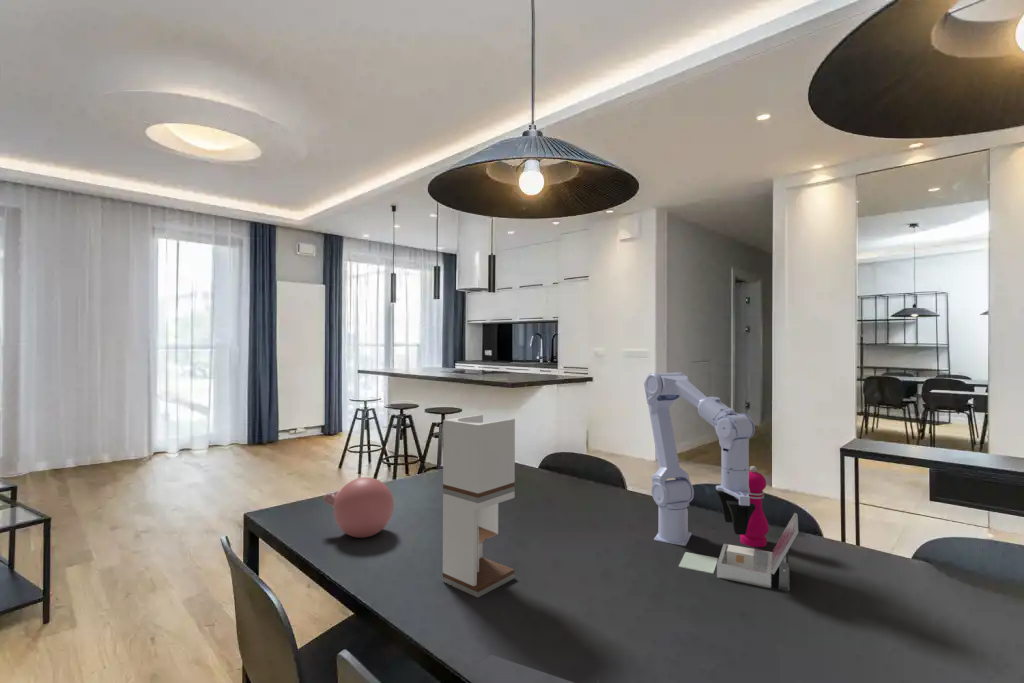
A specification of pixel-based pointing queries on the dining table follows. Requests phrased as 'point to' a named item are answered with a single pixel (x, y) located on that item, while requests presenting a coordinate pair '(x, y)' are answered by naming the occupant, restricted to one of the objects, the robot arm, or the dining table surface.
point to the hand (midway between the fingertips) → (734, 527)
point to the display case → (475, 499)
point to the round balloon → (362, 507)
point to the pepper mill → (756, 512)
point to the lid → (784, 543)
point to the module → (741, 556)
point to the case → (751, 576)
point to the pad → (698, 562)
